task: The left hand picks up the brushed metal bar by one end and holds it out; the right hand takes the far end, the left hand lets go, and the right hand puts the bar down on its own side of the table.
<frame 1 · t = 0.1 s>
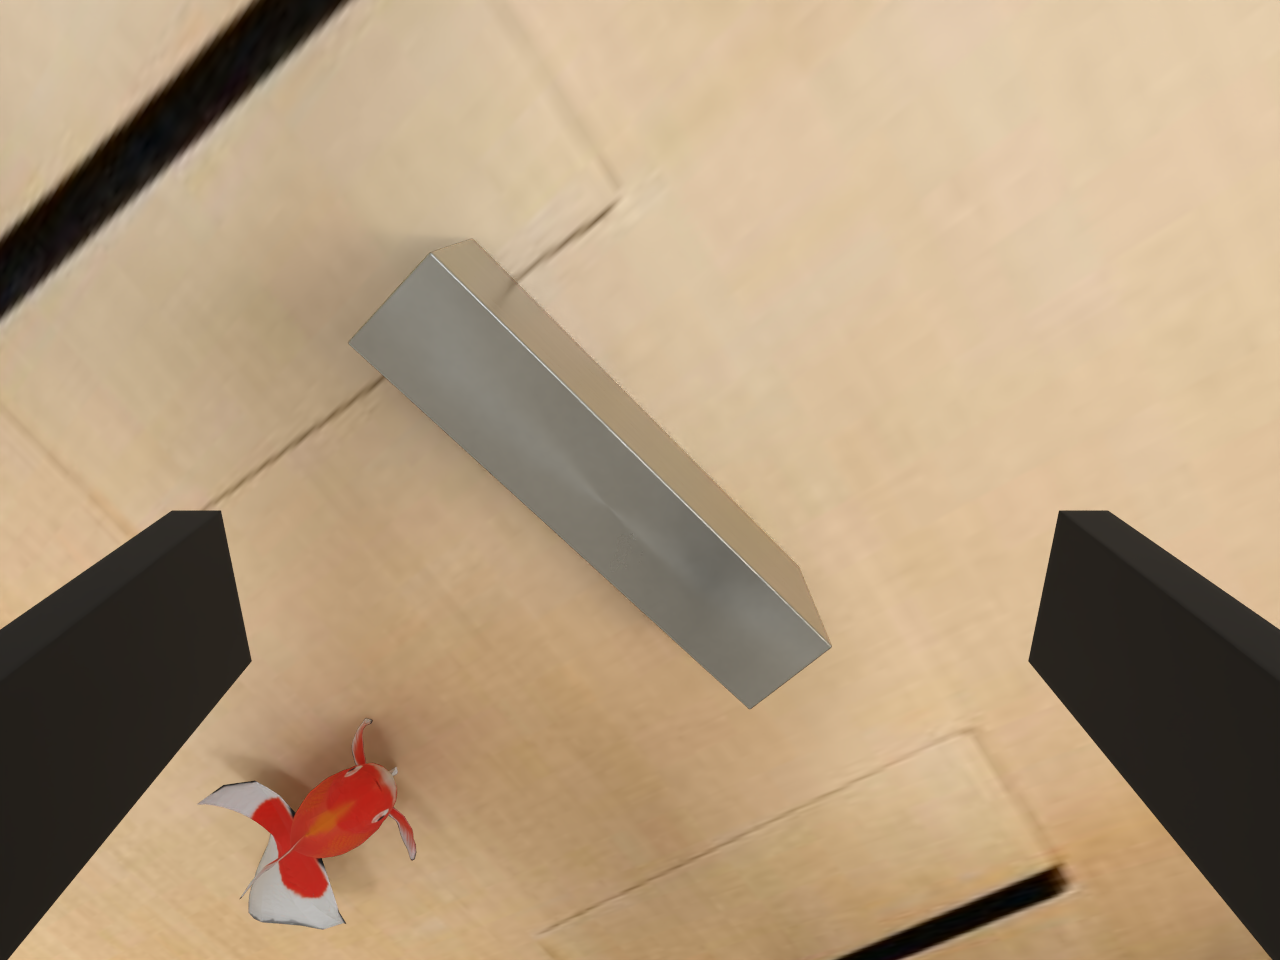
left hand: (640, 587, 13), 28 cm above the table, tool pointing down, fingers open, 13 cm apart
bar: (613, 447, 41), on the table
fish: (338, 789, 49), on the table
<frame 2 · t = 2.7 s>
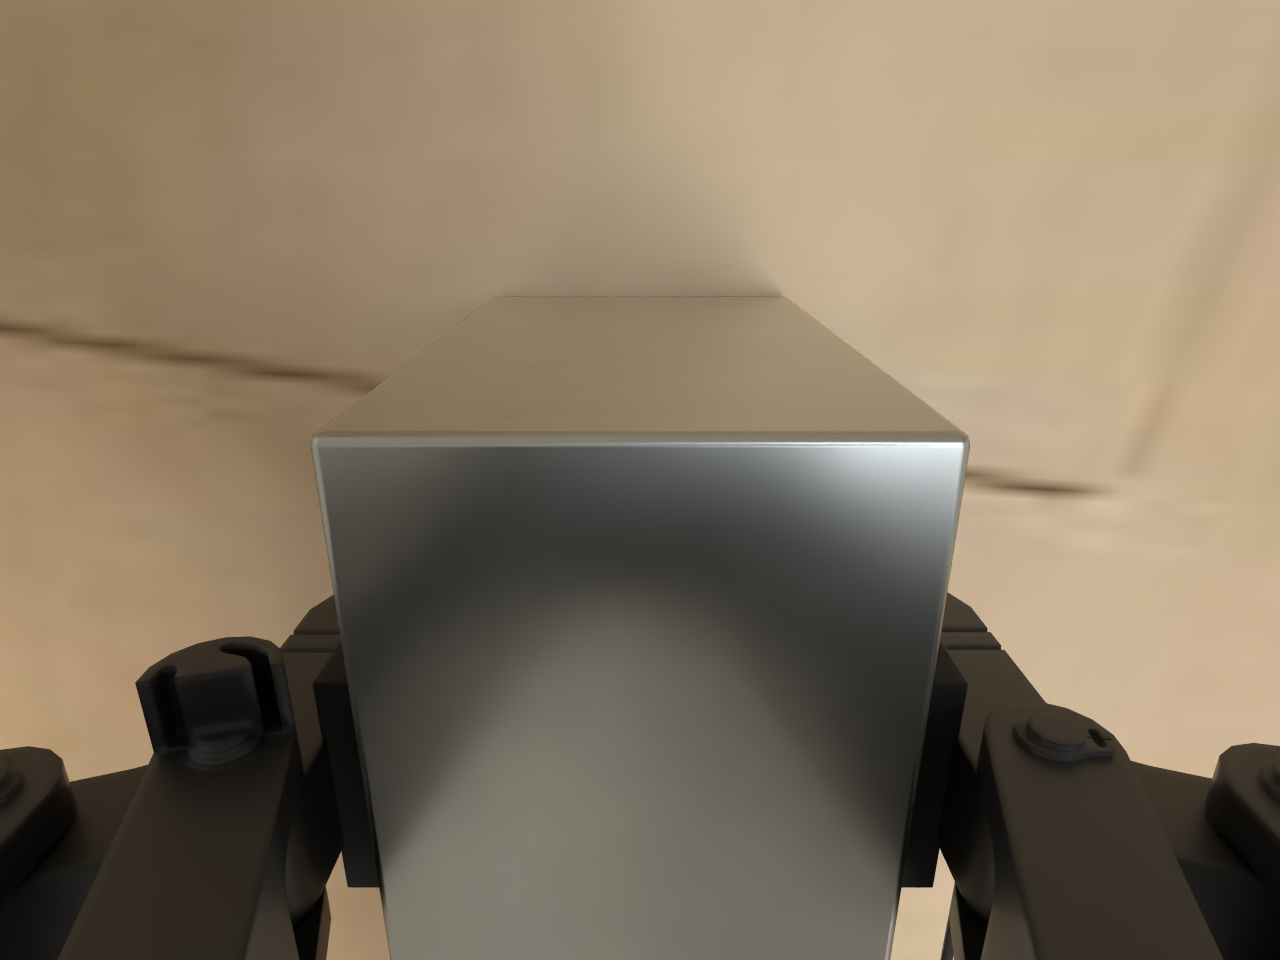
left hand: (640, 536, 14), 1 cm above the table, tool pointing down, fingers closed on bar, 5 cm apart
bar: (640, 845, 18), on the table, touching left hand
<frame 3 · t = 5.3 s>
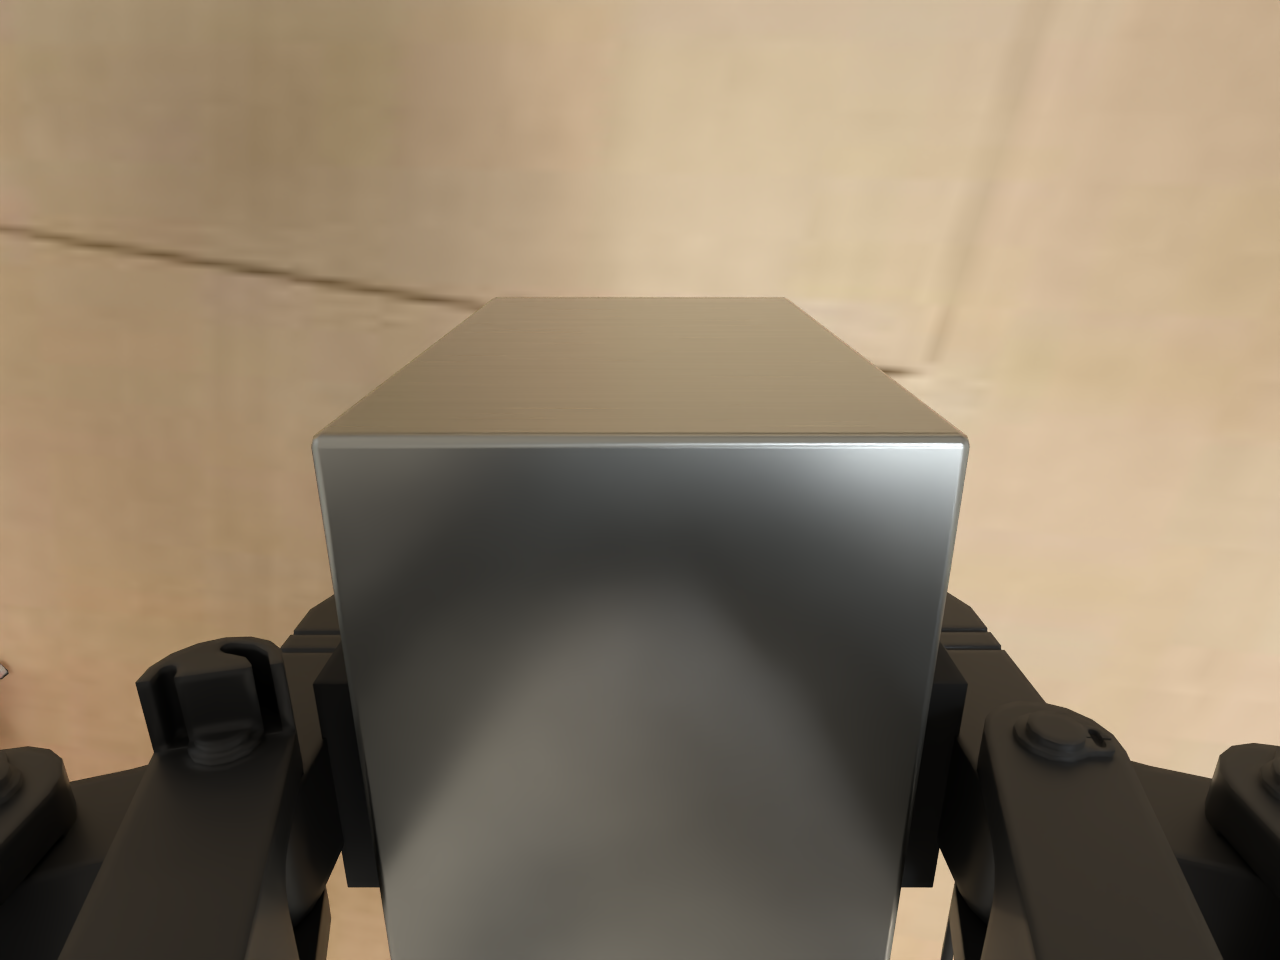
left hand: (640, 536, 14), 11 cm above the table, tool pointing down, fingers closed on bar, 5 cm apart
bar: (640, 846, 18), point 10 cm above the table, touching left hand
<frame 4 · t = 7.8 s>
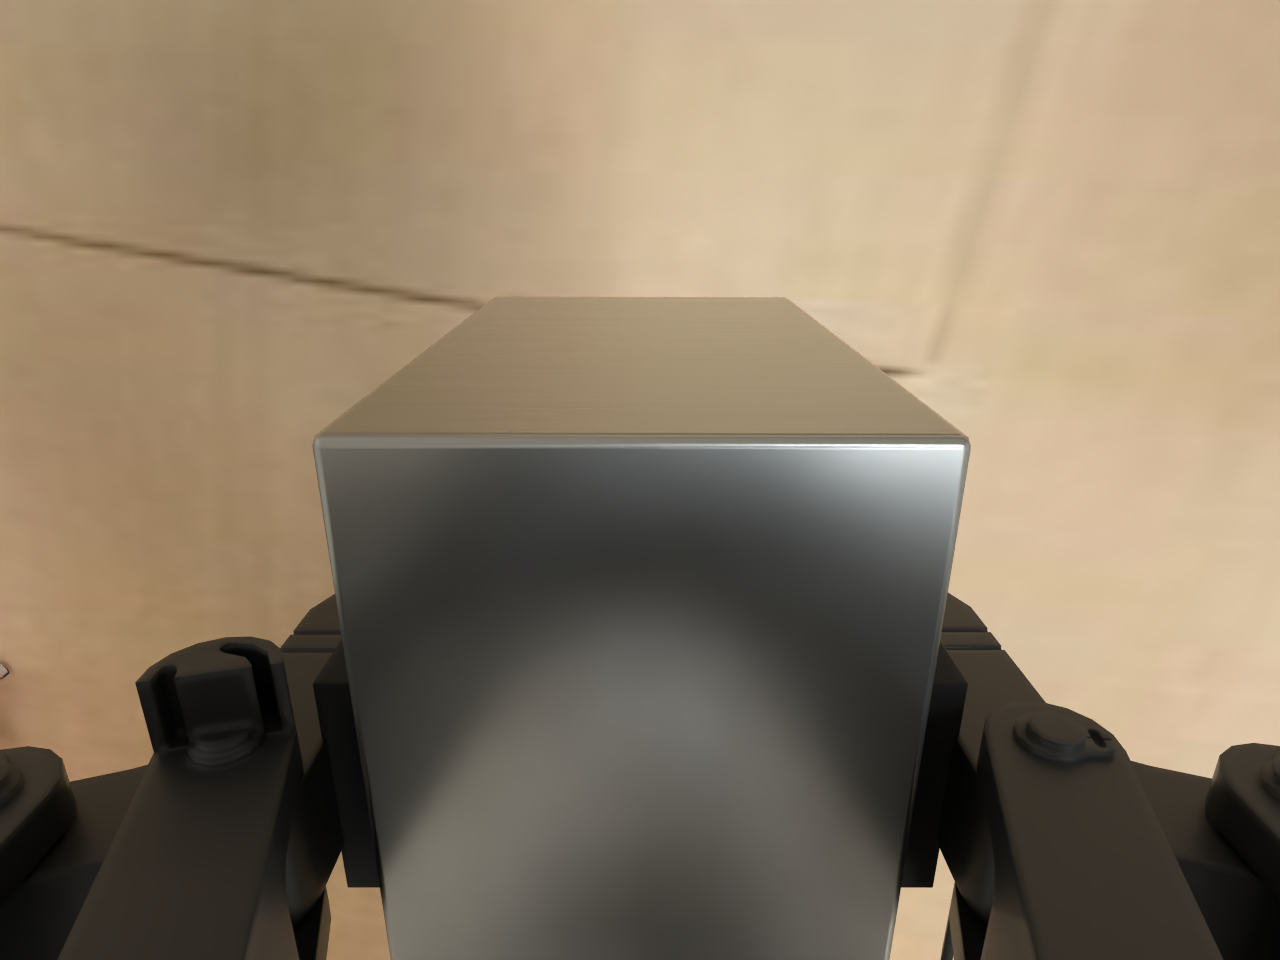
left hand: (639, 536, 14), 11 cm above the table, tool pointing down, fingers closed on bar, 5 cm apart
bar: (639, 845, 18), point 10 cm above the table, touching left hand, right hand
when the left hand's fingers open (11 cm above the table, at t = 8.3 s): bar stays where it is, held by the right hand.
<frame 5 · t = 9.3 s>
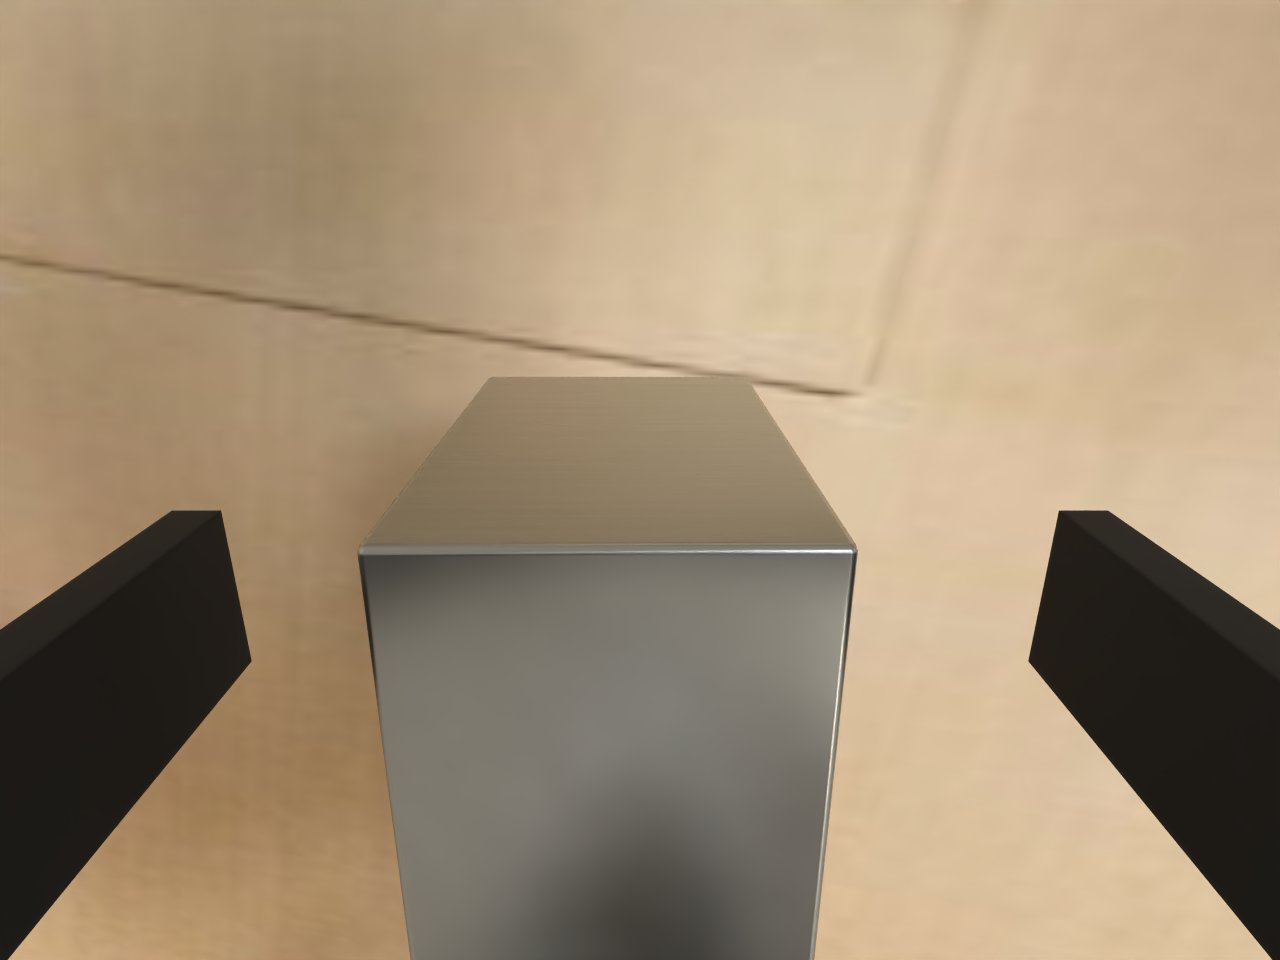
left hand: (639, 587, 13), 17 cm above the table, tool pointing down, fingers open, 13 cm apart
bar: (621, 858, 19), point 13 cm above the table, touching right hand
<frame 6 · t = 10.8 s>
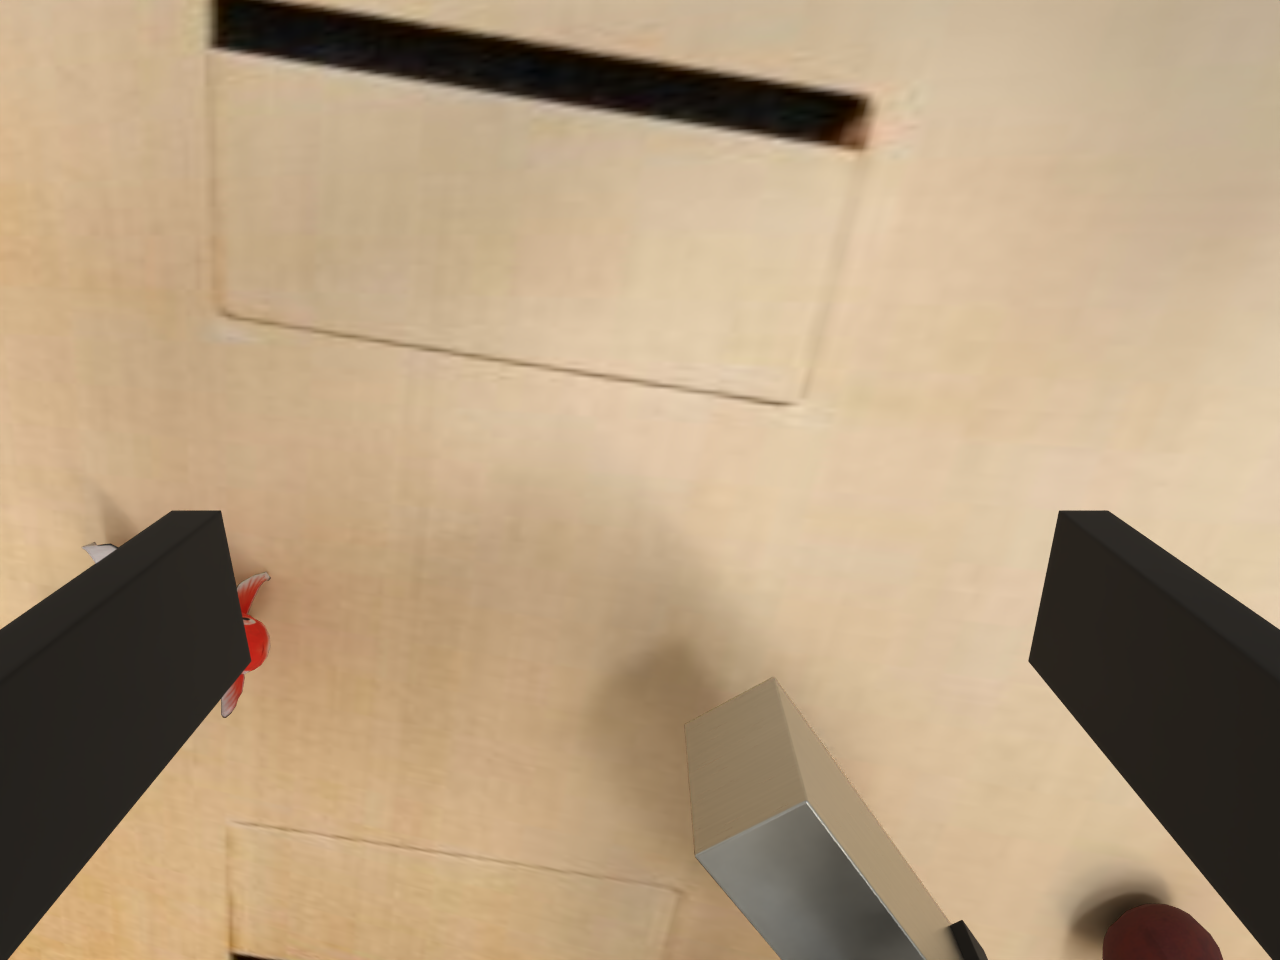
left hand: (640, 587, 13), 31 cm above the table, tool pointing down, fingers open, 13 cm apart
potato: (1133, 917, 57), on the table
bar: (848, 860, 41), point 11 cm above the table, touching right hand
fish: (183, 603, 48), on the table
when the right hand's fingers open (2 cm above the table, at t = 11.9 s): bar drops 2 cm, on the table.
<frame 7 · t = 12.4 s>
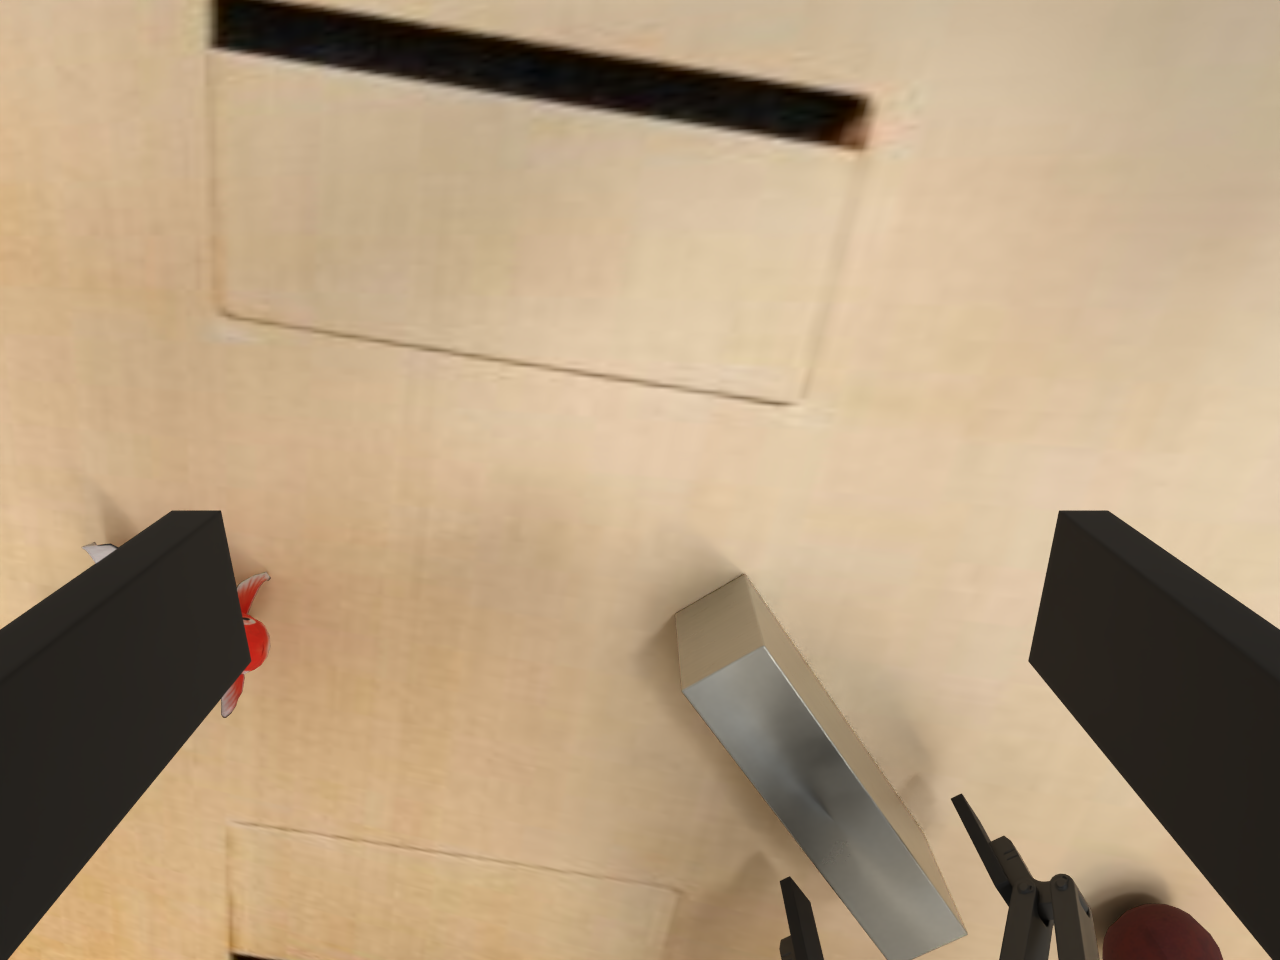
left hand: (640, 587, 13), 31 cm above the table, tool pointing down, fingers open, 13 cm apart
right hand: (878, 851, 50), fingers open, 11 cm apart
potato: (1133, 917, 57), on the table
bar: (806, 729, 52), on the table
fish: (183, 603, 48), on the table
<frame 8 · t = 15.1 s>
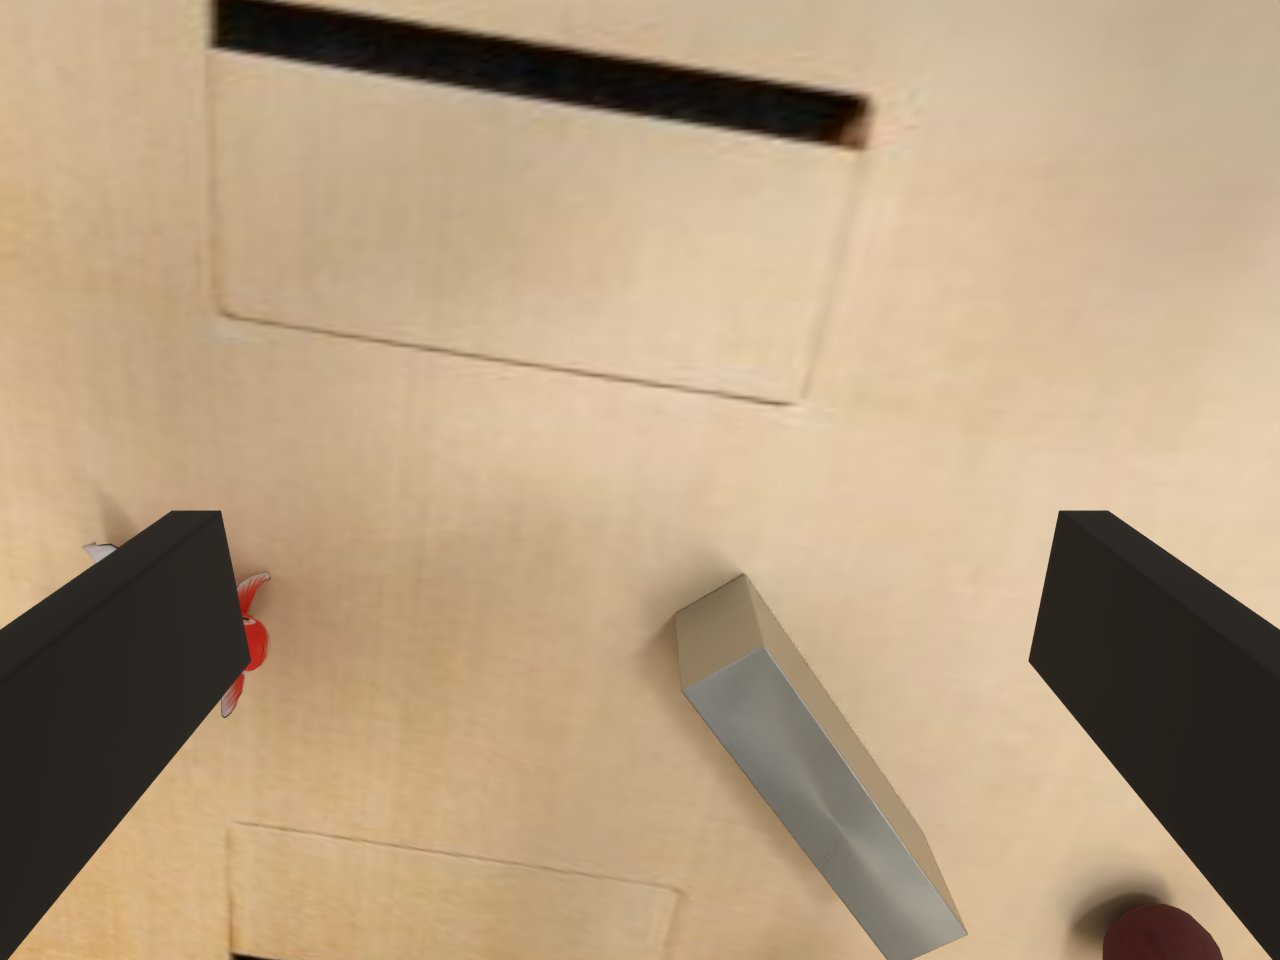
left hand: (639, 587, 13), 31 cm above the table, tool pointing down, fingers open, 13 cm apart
potato: (1133, 917, 57), on the table
bar: (806, 729, 52), on the table
fish: (183, 603, 48), on the table
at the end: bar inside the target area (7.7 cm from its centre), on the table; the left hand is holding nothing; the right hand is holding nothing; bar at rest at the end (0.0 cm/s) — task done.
